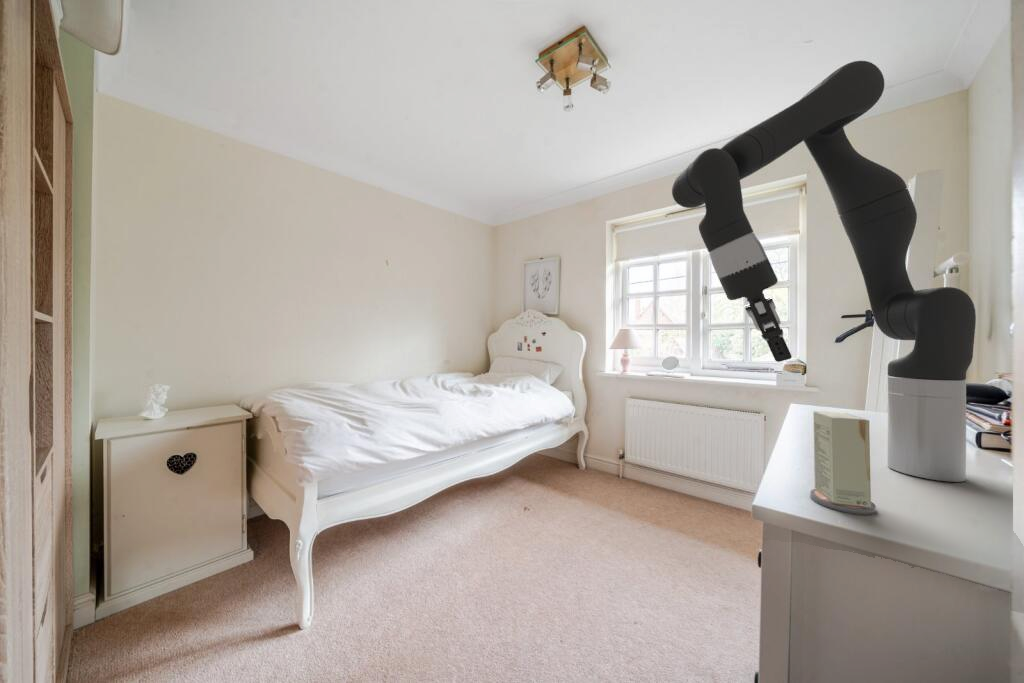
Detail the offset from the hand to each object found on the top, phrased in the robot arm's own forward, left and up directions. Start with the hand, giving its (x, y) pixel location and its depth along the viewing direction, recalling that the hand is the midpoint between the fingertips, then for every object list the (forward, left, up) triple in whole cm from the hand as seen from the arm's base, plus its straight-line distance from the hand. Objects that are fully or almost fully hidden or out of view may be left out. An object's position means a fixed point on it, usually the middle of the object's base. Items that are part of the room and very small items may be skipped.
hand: (781, 353), depth 60 cm
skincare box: (+5, +6, -21) cm, 23 cm away
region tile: (+6, +6, -22) cm, 23 cm away
